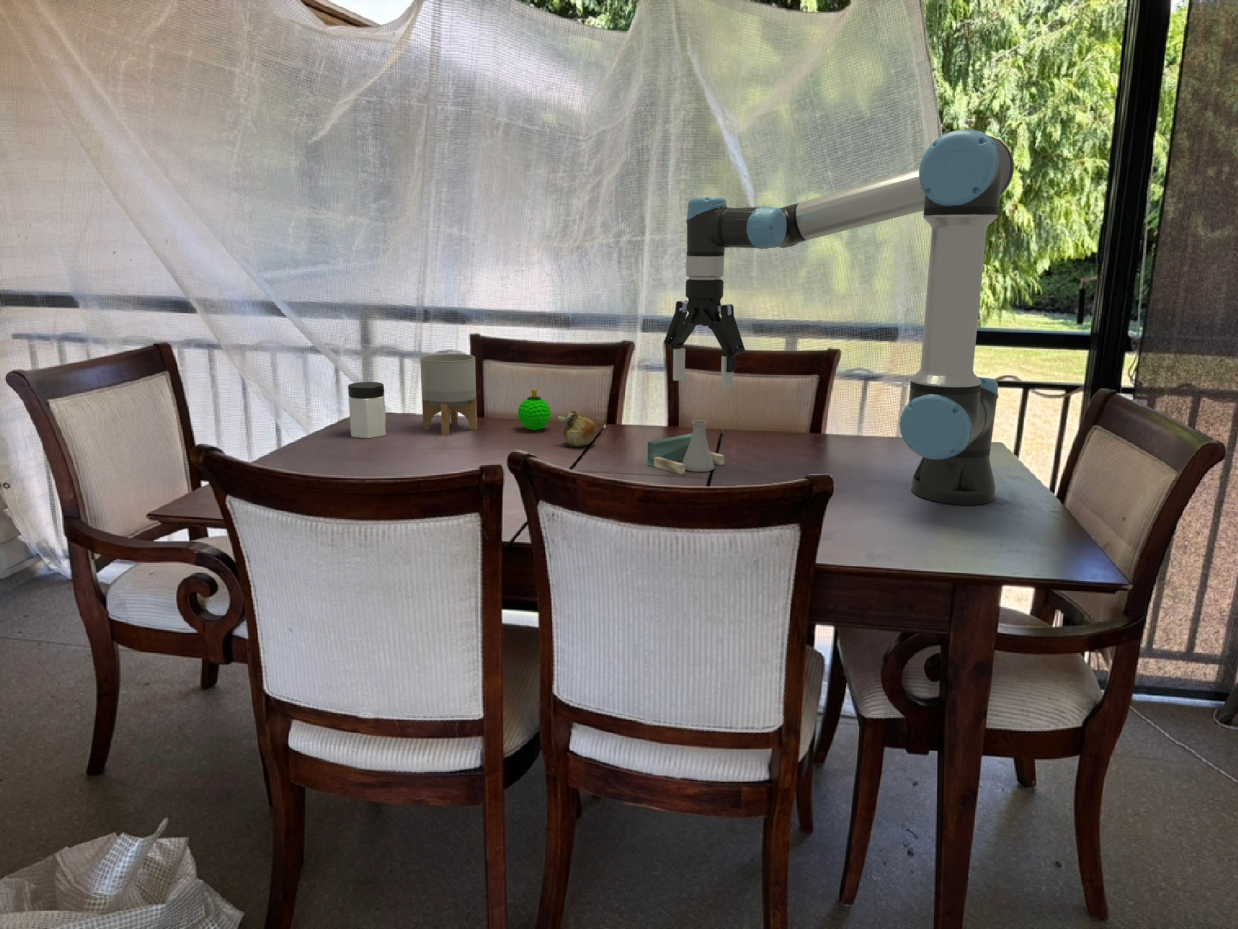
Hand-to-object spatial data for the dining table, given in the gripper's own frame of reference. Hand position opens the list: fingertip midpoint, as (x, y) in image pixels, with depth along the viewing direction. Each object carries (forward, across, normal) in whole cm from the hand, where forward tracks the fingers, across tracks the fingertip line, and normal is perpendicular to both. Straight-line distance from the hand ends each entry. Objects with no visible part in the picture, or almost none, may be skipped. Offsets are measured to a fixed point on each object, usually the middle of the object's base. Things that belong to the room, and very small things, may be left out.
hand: (702, 384), depth 183 cm
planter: (+17, +63, +23) cm, 69 cm away
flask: (+18, +1, 0) cm, 18 cm away
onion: (+18, +31, +8) cm, 37 cm away
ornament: (+17, +50, +7) cm, 53 cm away
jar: (+17, +70, +41) cm, 83 cm away
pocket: (+18, +4, 0) cm, 18 cm away
